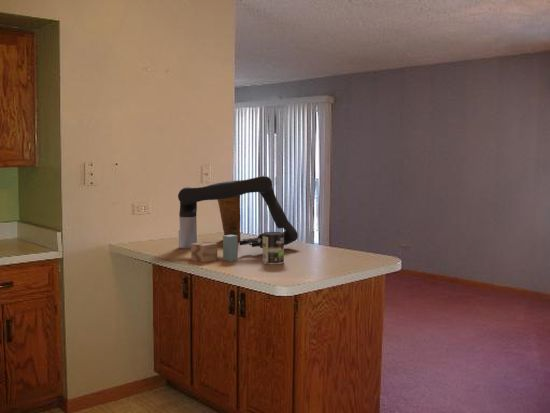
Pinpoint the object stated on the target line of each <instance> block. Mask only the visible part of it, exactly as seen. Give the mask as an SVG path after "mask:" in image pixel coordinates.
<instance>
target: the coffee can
mask: <svg viewBox="0 0 550 413" xmlns="http://www.w3.org/2000/svg"><path fill="white" fill-rule="evenodd" d="M261 234H262V235H263V248H262V263H263V264H264V265H282V264H284V263H285V245H284V233H283V232H282V231H281V232H280V231H266V232H262V233H261Z"/></svg>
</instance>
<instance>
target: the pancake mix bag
mask: <svg viewBox="0 0 550 413" xmlns="http://www.w3.org/2000/svg"><path fill="white" fill-rule="evenodd" d="M217 203H218V209H219V214H220V219H221V225H222V230H223V236H224V235H237V236H238V243H240V241H242V240H241V195H240V196H236V197H233V198H227V199H219V200H217Z"/></svg>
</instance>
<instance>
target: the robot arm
mask: <svg viewBox="0 0 550 413" xmlns="http://www.w3.org/2000/svg"><path fill="white" fill-rule="evenodd" d="M250 193H252V194H253V193H259V194H260V195H261V197H262V198H263V200H264V202H265V204H266V205H267V208H268V210H269V214H270V216H271V217H272V218H271V219H272V220H273V223H274V224H275V226H276V228H277V229H283V230H284V231H283V232H282V233H284V246H286V245H287V246H288V245H290V244H291V243H293V242H296V241H297V240H298V237H299V234H298V231H297V230H296V228H295V227H294V226H293V225H292V224H291V223H290V221H289V220H288V217H287V216H286V214H285V212H284V209H283V208H282V206H281V205H280V203H279V201H278V199H277V197H276V195H275V192H274V188H273V181H272V179H271V178H270V177H269V176H268V175H260V176H257V177H253V178H252V177H251V178H248V179H240V180H239V179H238V180H228V181H221V182H216V183H212V184H208V185H206V186H202V187H201V186H200V187H190V186H186V187H183V188H181V189H180V190H179V192H178V194H177V197H178V201H179V212H178V213H179V214H178V216H179V230H178V248H180V249H190V250H191V244H192V243H198V240H197V238H198V236H197V234H198V233H197V230H198V229H197V228H198V227H197V226H198V225H197V223H198V222H197V211H198V202H203V201H218V200H219V199H227V198H233V197H236V196H240V197H241V196H242V195H246V194H250ZM239 245H240V246H245V245H246V246H248V245H249V246H251V247H252V248H257V247H259V248H261V249H263V235H262V233H261V234H259V235H258V236H257V237H254V238H253V237H249V238H248V237H247V238H243V239H242V240H241V241H240V242H239Z"/></svg>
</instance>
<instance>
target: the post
mask: <svg viewBox="0 0 550 413" xmlns="http://www.w3.org/2000/svg"><path fill="white" fill-rule="evenodd" d="M238 243H239V242H238V236H237V235H224V234H223V235H222V261H225V260H226V261H225V262H234V260H235V261H238V259H239V258H238V257H239V256H238V253H239V252H238V251H239V250H238V247H239V246H238Z"/></svg>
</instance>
